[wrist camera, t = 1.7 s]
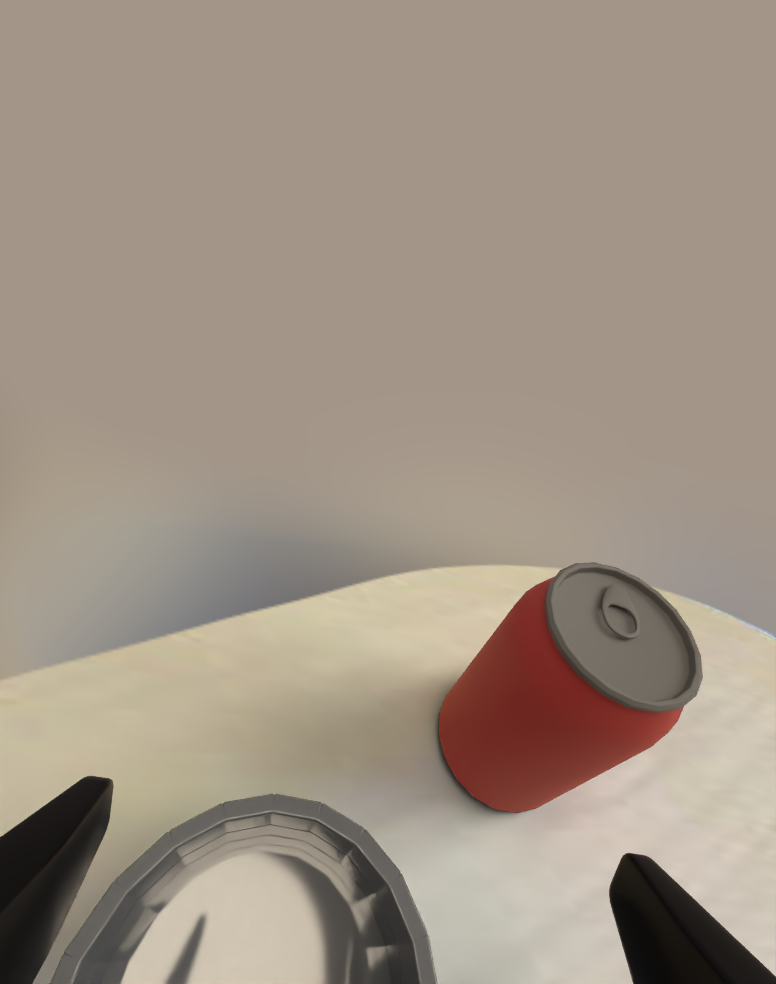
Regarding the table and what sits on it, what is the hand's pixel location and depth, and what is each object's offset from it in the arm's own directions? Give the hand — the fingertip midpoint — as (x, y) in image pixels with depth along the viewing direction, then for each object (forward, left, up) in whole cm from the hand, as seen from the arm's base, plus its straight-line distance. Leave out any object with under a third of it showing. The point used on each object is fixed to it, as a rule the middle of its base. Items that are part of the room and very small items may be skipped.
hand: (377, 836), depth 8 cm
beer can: (+1, -11, -15) cm, 19 cm away
